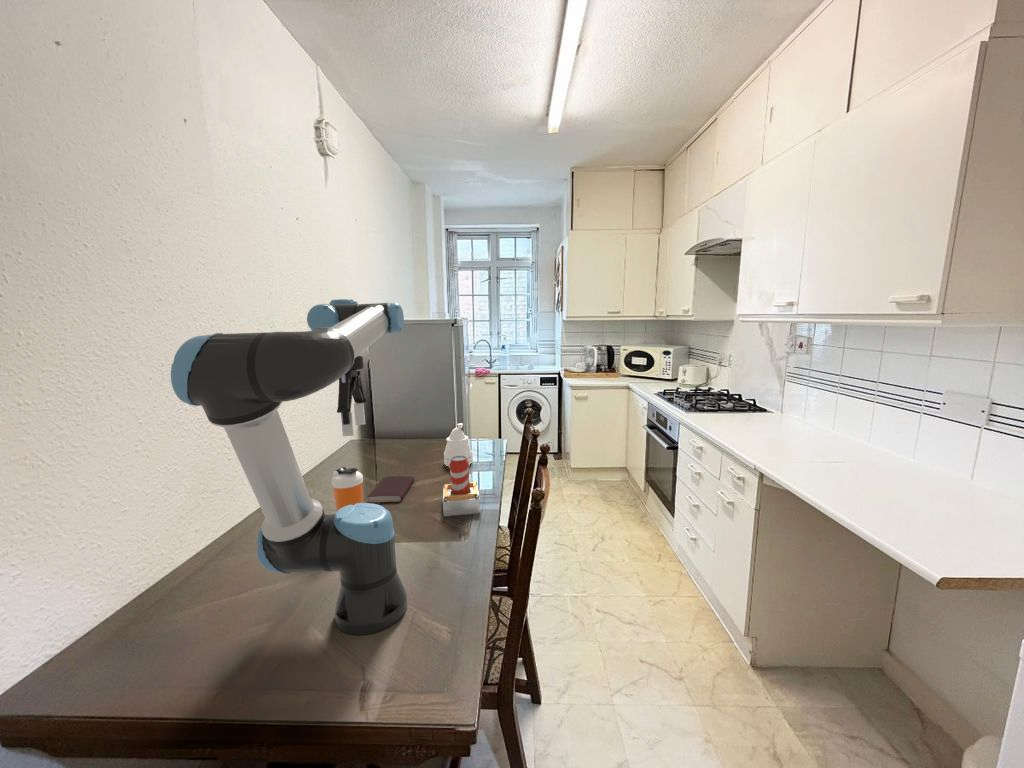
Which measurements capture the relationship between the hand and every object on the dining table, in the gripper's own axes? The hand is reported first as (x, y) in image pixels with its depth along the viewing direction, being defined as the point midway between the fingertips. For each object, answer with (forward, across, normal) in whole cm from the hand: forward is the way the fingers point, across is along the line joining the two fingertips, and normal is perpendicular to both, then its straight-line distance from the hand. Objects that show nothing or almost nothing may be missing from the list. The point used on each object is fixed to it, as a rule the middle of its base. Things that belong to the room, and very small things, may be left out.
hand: (354, 429), depth 121 cm
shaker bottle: (+34, +6, +5) cm, 34 cm away
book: (+34, +37, -2) cm, 50 cm away
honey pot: (+33, +65, -27) cm, 78 cm away
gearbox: (+33, +18, -29) cm, 47 cm away
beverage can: (+28, +18, -29) cm, 44 cm away
